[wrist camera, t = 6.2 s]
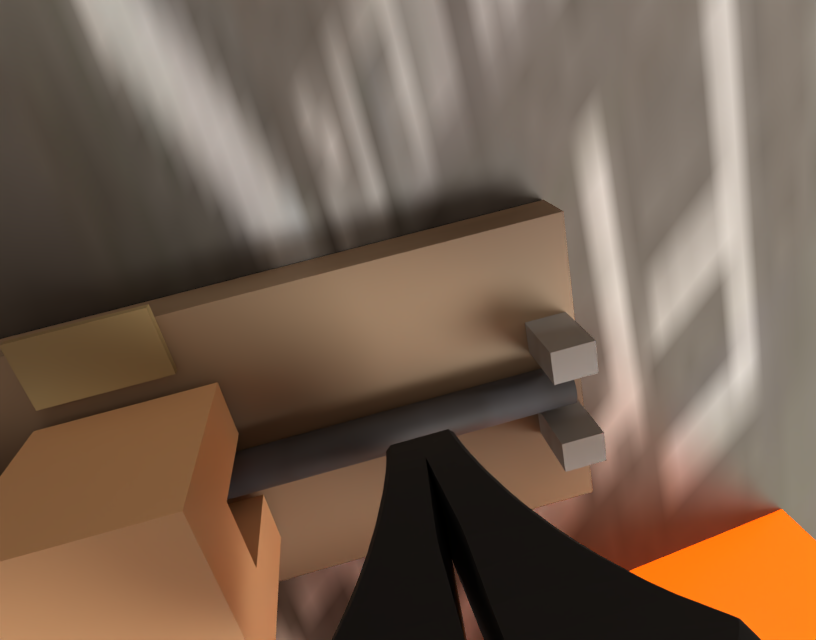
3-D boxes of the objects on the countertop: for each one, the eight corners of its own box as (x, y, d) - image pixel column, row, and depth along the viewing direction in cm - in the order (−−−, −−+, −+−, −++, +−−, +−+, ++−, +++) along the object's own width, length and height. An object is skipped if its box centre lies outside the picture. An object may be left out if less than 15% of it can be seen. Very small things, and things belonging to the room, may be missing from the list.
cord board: (575, 472, 18) (674, 623, 13) (-5, 637, 17) (-128, 867, 12) (541, 187, 14) (663, 250, 9) (-202, 376, 13) (-491, 557, 8)
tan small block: (280, 536, 15) (272, 695, 11) (122, 581, 15) (59, 758, 11) (217, 382, 13) (182, 511, 9) (33, 431, 13) (-79, 583, 9)
